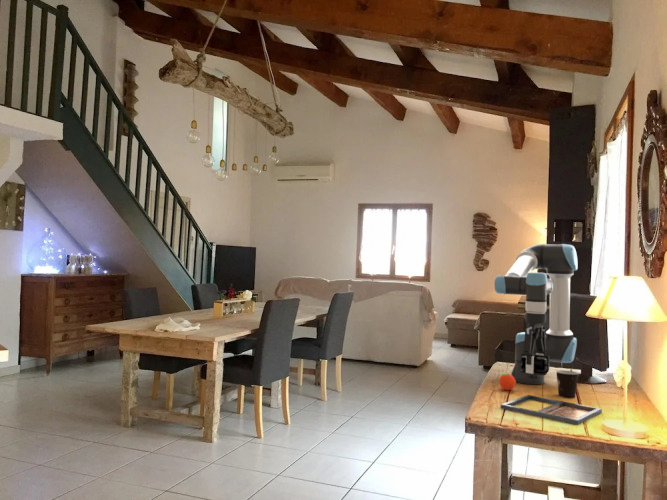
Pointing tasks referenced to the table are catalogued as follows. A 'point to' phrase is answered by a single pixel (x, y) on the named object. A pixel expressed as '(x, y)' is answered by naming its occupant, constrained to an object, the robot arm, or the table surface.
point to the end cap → (537, 364)
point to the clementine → (507, 381)
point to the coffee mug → (567, 383)
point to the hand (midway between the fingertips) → (534, 371)
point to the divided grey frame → (555, 410)
